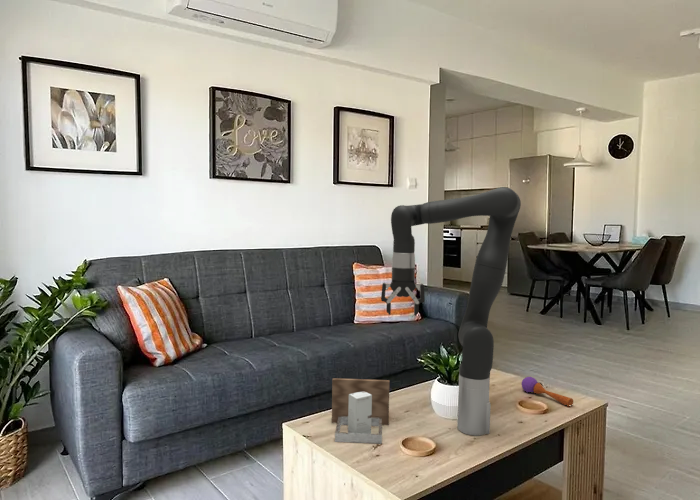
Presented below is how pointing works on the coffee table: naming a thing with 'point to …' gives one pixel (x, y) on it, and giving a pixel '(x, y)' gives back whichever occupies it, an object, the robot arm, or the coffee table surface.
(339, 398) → the wall board
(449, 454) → the coffee table surface
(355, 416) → the skincare box
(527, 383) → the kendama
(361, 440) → the grey rectangular frame
